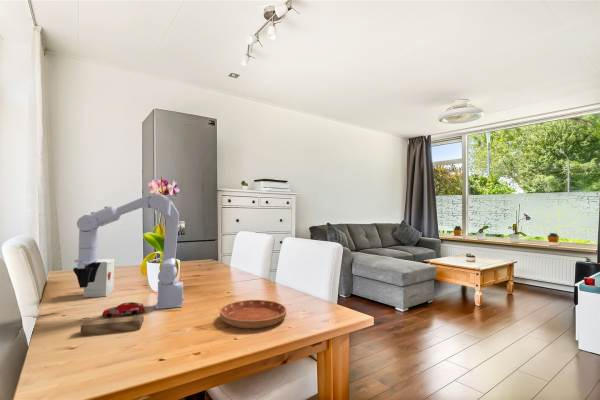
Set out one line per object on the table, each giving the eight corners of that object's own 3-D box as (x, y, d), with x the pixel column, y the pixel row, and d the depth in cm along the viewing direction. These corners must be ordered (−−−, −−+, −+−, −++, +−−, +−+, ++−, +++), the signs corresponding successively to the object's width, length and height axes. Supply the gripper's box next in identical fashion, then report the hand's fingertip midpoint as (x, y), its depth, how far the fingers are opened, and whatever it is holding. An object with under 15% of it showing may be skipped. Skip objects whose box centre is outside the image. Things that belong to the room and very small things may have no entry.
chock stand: (144, 320, 105) (144, 311, 105) (139, 329, 97) (140, 320, 97) (89, 325, 100) (90, 316, 100) (80, 335, 92) (80, 325, 92)
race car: (100, 320, 106) (100, 308, 106) (104, 315, 111) (104, 303, 111) (143, 315, 111) (143, 304, 111) (144, 310, 116) (144, 299, 116)
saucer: (259, 304, 124) (260, 295, 124) (299, 319, 108) (299, 309, 108) (207, 318, 108) (207, 308, 108) (245, 338, 92) (245, 326, 92)
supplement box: (106, 296, 132) (107, 261, 133) (82, 297, 130) (83, 262, 131) (114, 291, 141) (115, 258, 141) (92, 292, 139) (93, 258, 140)
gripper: (82, 245, 119) (81, 280, 119) (67, 250, 105) (66, 290, 105) (103, 245, 121) (102, 279, 121) (91, 249, 108) (90, 289, 107)
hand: (87, 284), depth 113 cm, fingers open, 7 cm apart
